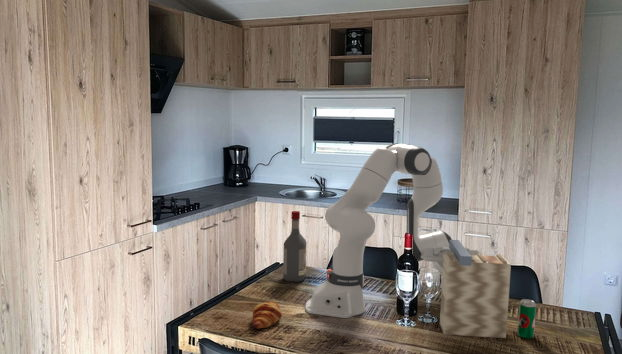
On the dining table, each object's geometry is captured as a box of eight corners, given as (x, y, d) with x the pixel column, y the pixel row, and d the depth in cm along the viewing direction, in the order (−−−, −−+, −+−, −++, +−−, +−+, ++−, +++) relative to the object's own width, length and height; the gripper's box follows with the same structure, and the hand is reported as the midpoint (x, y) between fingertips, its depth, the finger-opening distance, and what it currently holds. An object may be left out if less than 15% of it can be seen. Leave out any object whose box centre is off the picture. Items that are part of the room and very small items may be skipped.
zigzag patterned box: (443, 334, 167) (447, 258, 164) (439, 323, 175) (443, 251, 172) (505, 338, 165) (511, 261, 162) (498, 326, 173) (503, 254, 170)
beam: (460, 265, 159) (461, 256, 159) (449, 247, 181) (449, 239, 181) (471, 265, 159) (471, 256, 159) (458, 248, 181) (458, 240, 180)
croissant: (269, 317, 187) (259, 298, 187) (292, 307, 184) (282, 288, 184) (248, 340, 166) (238, 318, 166) (274, 330, 163) (264, 307, 164)
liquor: (282, 281, 217) (283, 213, 214) (286, 274, 226) (287, 209, 223) (302, 282, 216) (304, 214, 212) (306, 276, 225) (307, 210, 221)
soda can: (535, 340, 163) (538, 304, 162) (519, 338, 164) (521, 303, 163) (531, 333, 168) (534, 299, 167) (515, 332, 169) (518, 298, 168)
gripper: (419, 250, 194) (424, 240, 182) (473, 252, 192) (482, 242, 180) (420, 266, 192) (424, 257, 179) (474, 269, 190) (483, 260, 177)
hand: (454, 249), depth 179 cm, fingers open, 8 cm apart
